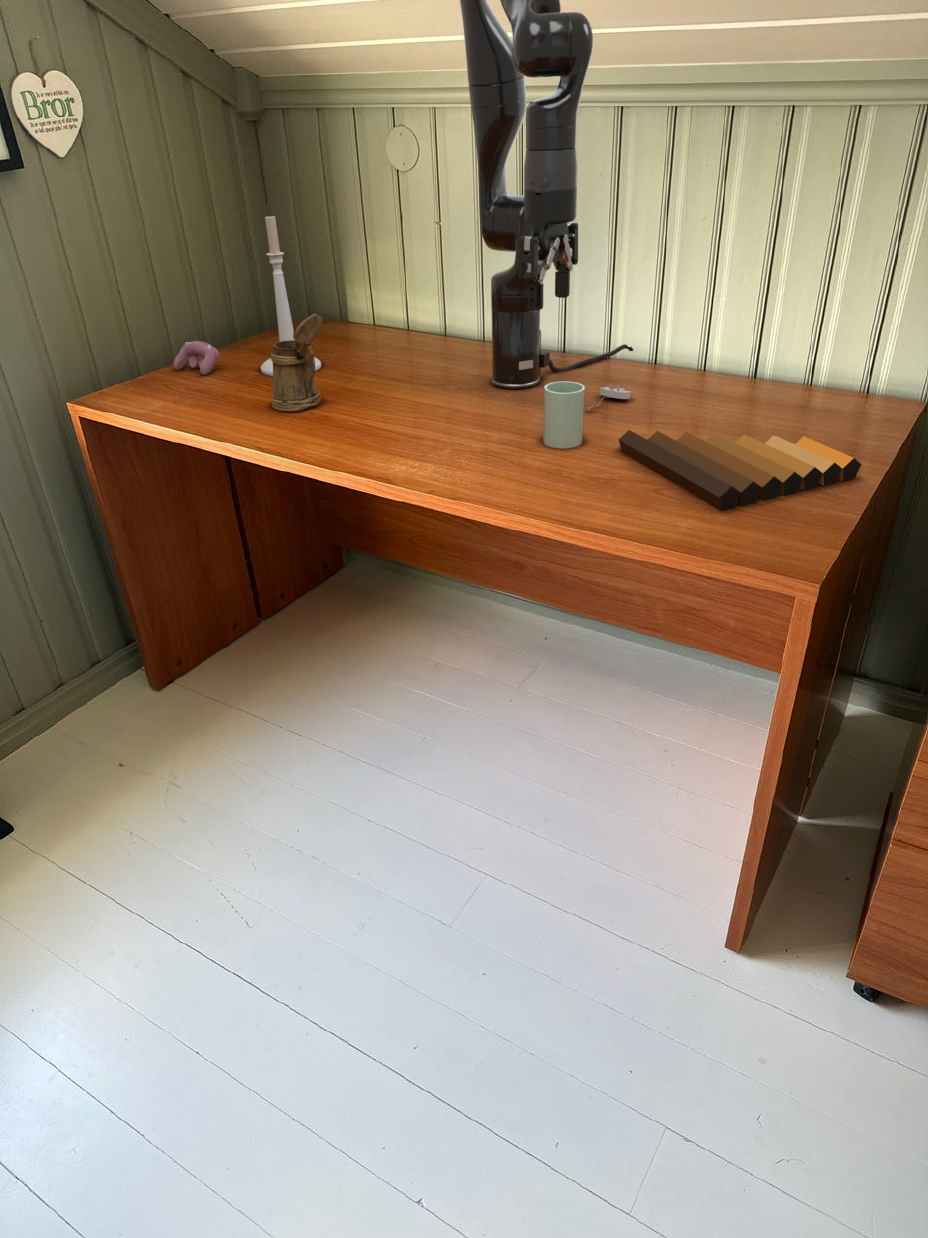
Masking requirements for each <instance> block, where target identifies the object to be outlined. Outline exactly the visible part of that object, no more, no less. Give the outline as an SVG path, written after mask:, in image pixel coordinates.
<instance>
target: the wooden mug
mask: <svg viewBox="0 0 928 1238" xmlns="http://www.w3.org/2000/svg"><path fill="white" fill-rule="evenodd" d="M323 324H324V321H323V316H322V315H321V314H320V313H319V312H316V311H312V312H311V313H310V314H308V315H307V316H305V317H304V318H302V319H301V320H300V321H299V322H298V324H297V325H296V327H295V329H293V330H294V334H293V338H294V340H288V341H281V342H280V341H278V342H276V341H275V342H273V344H272V352H271V354H270V358H271V361H272V362H273V376H272V398H271V407H272V408H273V410H277V411H281V412H301V411H305V410H306V411H307V410H310V409H313V408H315V407H318V406H319V405H320V404H321V401H322V398H321V393H320V392H319V390H318V388H317V387H318V386H317V384H316V380H315V372H316V371H315V358H316V357H315V353H314V351H313V348H312V346H311V345H312V343H313V341H314V340H315V339H316V337H318V335H319V334H320V332H321V330H322V327H323ZM314 357H315V358H314Z"/></svg>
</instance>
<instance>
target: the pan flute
mask: <svg viewBox="0 0 928 1238" xmlns="http://www.w3.org/2000/svg"><path fill="white" fill-rule="evenodd" d="M618 442H619V446H620V447H619V448H620V451H621V453H623V454H625V455H627V456H628V457H630V458H632V459H633V460H635V461H637V462H638V463H640V464H641V465H644V466H645V467H647V468H648V469H650V470H652V471H653V472H655V473H657V474H658V475H661V476H662V477H663V478H666V479H667V480H669V481H670V482H672V483H674V484H675V485H677V486H679V487H680V488H683V489H684V490H685V491H687V492H689V493H691V494H693V495H694V496H696V497H698V498H699V499H701V500H702V501H704V502H705V503H708V504H709V505H711V506H713V507H714V508H716V509H718V510H719V511H721V512H722V511H726V510H731V509H734V508H736V506H737V504H739V505H741V506H747V505H752V504H756V503H757V501H758V499H760V500H762V501H768V500H772V499H773V500H774V499H776V498H778V495H779V494H780V495H782V496H784V497H785V496H790V495H793V494H797V493H798V491H799V489H800V490H801V491H804V492H806V491H810V490H813V489H817V488H818V486H819V485H820V486H823V487H827V486H830V485H835V484H837V482H838V480H839V481H841V482H847V481H850V480H851V481H852V480H855V479H856V477H857V475H858V473H859V471H860V468H861V466H862V463H861V461H859V460H857V459H856V458H855V457H854V456H851V455H848V454H847V453H844V452H842V451H840V450H837V449H834V448H832V447H830V446H828V445H826V444H823V443H821V442H819V441H816V440H814V439H811V438H809V437H807V436H802V437H801V438H800V439H799V440H798V441H797V442H796V443H793V442H790V441H788V440H785V439H784V438H781V437H780V436H777V435H772V436H771V437H770V438H769V439H767V441H765V443H764V442H762V441H760V440H758V439H756V438H753V437H751V436H750V435H747V434H745V433H743V434H742V435H741V436H739V438H738V439H737V440H736V441H732V440H731V439H728V438H726V437H724V436H722V435H720V434H718V433H716V432H714V433H713V434H711V436H710V437H709V438H707V439H706V440H703V439H702V438H699V437H697V436H695V435H694V434H691V433H689V432H687V431H685V432H683V434H682V435H681V436H680V437H679V438H677V440H676V439H674V438H672V437H670V436H668V435H666V434H664V433H662V432H660V431H659V430H656V431H655V432H654V433H653V434H652V435H651V436H650V437H649V438H648V439H647V438H645V437H643V436H641V435H639V434H638V433H636V432H634V431H632V430H631V429H628V430H627V431H626V432H625V433H624V434H623V435H621V437H620V438H619V439H618Z"/></svg>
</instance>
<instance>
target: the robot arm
mask: <svg viewBox="0 0 928 1238" xmlns="http://www.w3.org/2000/svg"><path fill="white" fill-rule="evenodd" d="M499 1H500V4H501V7H502V9H503V11H504V13H505V16H506V18H507V19H508V23H510V27H511V34H512V39H511V37H510V35H509V34H508V33H507V32H506V30H505V29H504V27H503V26H502V24H501V23H500V22H499V20H498V18H497V17H496V15H495V14H494V11H493V10H492V8H491V6H490V4H489V3H488V0H459V7H460V14H461V21H462V30H463V39H464V40H463V41H464V50H465V61H466V72H467V83H468V91H469V100H470V109H471V115H472V122H473V130H474V139H475V149H476V160H477V176H478V208H479V210H478V211H479V224H480V230H481V236H482V239H483V243H484V244H485V246H486V247H487V248H488V249H490V250H493V251H497V252H498V251H499V252H509V253H515V256H514V262H513V265H511V266H510V267H509V268H507V269H505V270H501V271H498V272H496V273H494V274H493V275H492V277H491V280H490V297H491V298H490V299H491V301H490V303H491V304H490V305H491V308H490V309H491V366H492V367H491V368H492V372H491V373H492V375H491V376H492V377H491V384H492V385H493V386H497V387H499V388H502V389H526V388H531V387H534V386H537V385H538V384H540V379H541V371H542V370H541V369H542V368H546V367H549V369H550V371H552V372H554V373H561V372H562V373H563V372H568V371H572V370H575V369H578V368H580V367H582V366H585V365H588V364H592V363H595V362H598V361H601V360H604V359H606V358H610V357H612V356H615V355H616V354H618V353H620V352H621V351H623V350H625V349H626V350H627V351H629V352H634V351H635V350H634V348H633V347H632V346H631V347H628V346H627V345H626V344H627V343H625V344H621V345H619V346H618V347H616V348H614V349H613V350H611V351H608V352H606V353H601V354H600V355H597V356H594V357H590V358H587V359H584V360H580V361H578V362H576V363H573V364H572V365H569V366H566V367H561V368H560V367H557V366H554V364H553V361H552V359H550V356H551V355H550V351H545V350H544V351H542V331H541V310H543V309H544V283H543V282H544V280H545V277H546V273H547V271H549V270H550V269H551V267H552V264H553V267H554V269H555V272H554V296H555V298H560V299H566V298H568V297H569V296H570V290H571V287H570V284H571V272H572V271H573V268H574V265H575V266H577V265H578V263H579V224H578V222H573V221H575V220H576V218H577V202H578V171H579V170H578V168H579V167H578V155H577V139H578V137H577V136H578V135H577V134H578V114H579V107H580V104H581V103H580V102H581V97H582V93H583V87H584V84H585V80H586V78H587V77H586V76H587V73H588V70H589V66H590V62H591V59H592V54H593V47H594V35H593V34H594V33H593V28H592V26H591V23H590V21H589V19H588V18H587V17H586V15H585V14H584V13H582V12H580V11H562V6H561V0H499ZM525 77H526V78H532V79H537V78H540V79H541V78H554V77H555V78H556V77H558V78H559V81H558V84H557V86H556V88H555V89H554V91H553V93H551V94H549V95H547V96H544V97H540V98H537V99H535V100H533V101H531V102H529V104H528V105H527V92H526V91H527V89H526V79H525ZM524 121H525V156H524V157H525V158H524V166H523V167H524V168H523V173H524V174H523V189H524V190H523V195H516V194H515V195H513V194H512V195H511V194H509V195H508V191H507V165H508V160H509V157H510V154H511V151H512V149H513V146H514V144H515V142H516V139H517V137H518V136H519V132H520V131H521V128H522V125H523V124H524V123H523V122H524Z"/></svg>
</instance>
